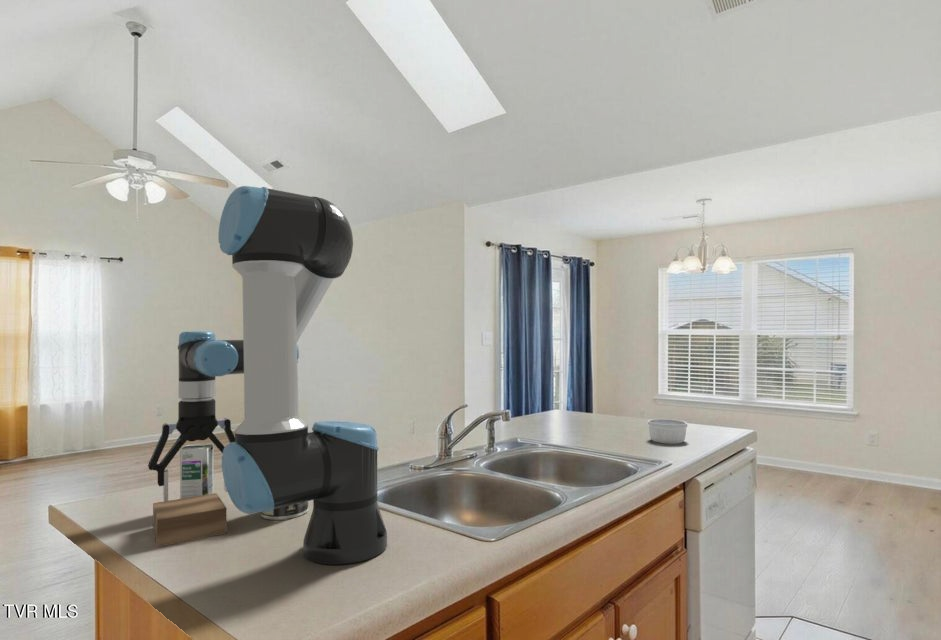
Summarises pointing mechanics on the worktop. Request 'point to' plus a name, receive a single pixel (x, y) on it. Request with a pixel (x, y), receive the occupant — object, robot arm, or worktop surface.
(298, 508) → the coffee can
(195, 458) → the syrup box
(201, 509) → the plinth
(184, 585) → the worktop surface
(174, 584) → the worktop surface
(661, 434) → the ramekin
